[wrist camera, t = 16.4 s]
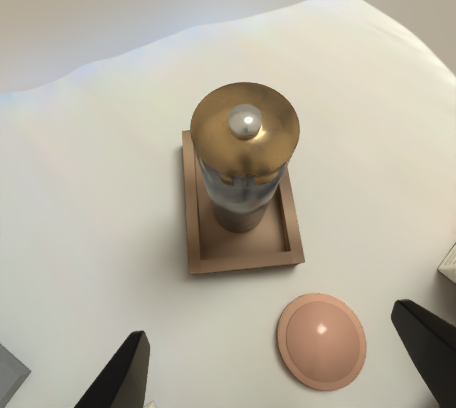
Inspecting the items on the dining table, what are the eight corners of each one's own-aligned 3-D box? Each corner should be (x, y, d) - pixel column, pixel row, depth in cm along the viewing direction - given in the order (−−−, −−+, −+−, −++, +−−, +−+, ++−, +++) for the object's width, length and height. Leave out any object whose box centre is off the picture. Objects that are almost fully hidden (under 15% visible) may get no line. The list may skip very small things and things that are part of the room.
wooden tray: (297, 264, 22) (305, 262, 20) (193, 274, 22) (188, 274, 20) (275, 135, 26) (278, 122, 24) (186, 143, 26) (182, 130, 24)
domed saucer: (379, 354, 20) (386, 358, 19) (309, 405, 19) (313, 412, 18) (326, 277, 22) (331, 277, 21) (261, 321, 21) (262, 323, 20)
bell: (253, 241, 22) (281, 188, 9) (205, 221, 23) (168, 146, 10) (271, 194, 24) (317, 91, 11) (225, 177, 24) (215, 59, 11)
